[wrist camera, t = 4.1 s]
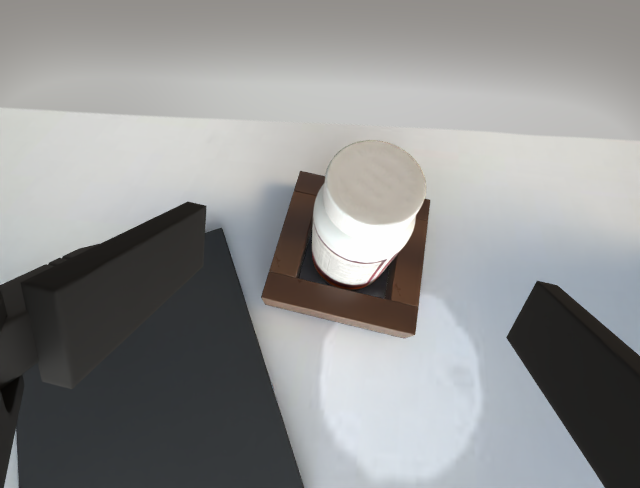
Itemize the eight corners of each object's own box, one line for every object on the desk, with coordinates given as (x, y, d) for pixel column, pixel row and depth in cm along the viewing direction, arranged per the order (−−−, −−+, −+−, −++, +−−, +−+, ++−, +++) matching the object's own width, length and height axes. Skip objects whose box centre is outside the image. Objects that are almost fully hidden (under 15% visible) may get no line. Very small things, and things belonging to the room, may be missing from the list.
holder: (404, 338, 24) (415, 335, 21) (265, 304, 24) (260, 297, 22) (420, 213, 28) (430, 199, 26) (300, 186, 28) (300, 170, 26)
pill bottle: (362, 212, 28) (397, 116, 17) (398, 273, 26) (462, 206, 15) (298, 239, 26) (294, 153, 16) (331, 305, 24) (351, 256, 14)
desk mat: (307, 498, 20) (307, 500, 19) (31, 638, 17) (25, 644, 17) (222, 229, 26) (221, 227, 26) (14, 297, 24) (9, 296, 23)
